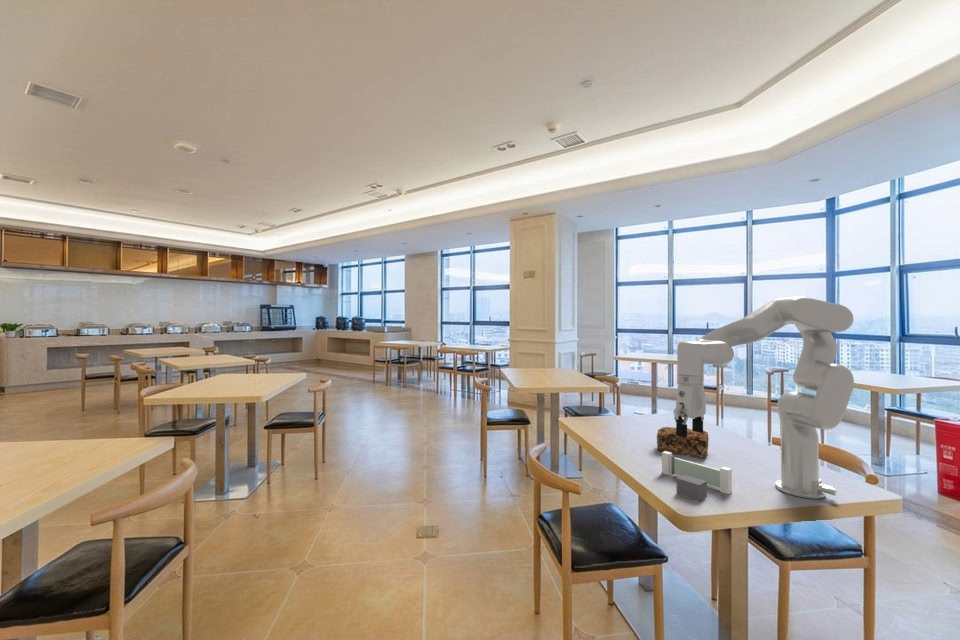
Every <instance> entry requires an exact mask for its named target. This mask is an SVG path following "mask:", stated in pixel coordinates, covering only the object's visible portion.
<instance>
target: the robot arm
mask: <svg viewBox="0 0 960 640" xmlns="http://www.w3.org/2000/svg"><path fill="white" fill-rule="evenodd" d="M853 323H854V315H853V312H852V310H850V309H849V308H848V307H847V306H845V305H843V304H840V303H834V302H829V301H825V300H821V299H817V298H812V297H807V296H791V297H779V298H774V299H772V300H770V301H769V302H767V303H765V304H764V305H762V306H760V307H758V308H757V309H756V310H754V311H752V312H751V313H748V314H747V315H745V316H744V317H742V318H740V319H738V320H736V321H732V322H730V323H728V324H726V325H723V326H721V327H718V328H716V329H714V330H712V331H710V332H708V333H706V334H705V335H703V336H701V337H700V338H698V339H696V340H695V341H690V340H688V341H687V340H686V341H685V340H683V341H679V342H678V343H677V347H676V349H677V351H676V353H677V355H676V356H677V357H676V359H677V360H676V361H677V362H676V366H677V367H676V375H677V376H676V383H677V388H676V400H675V408H674V409H673V412H672V413H673V416H674V417H673V419H674V420H675V424H676V425H675V426H676V427H675V428H676V435H677V436H681V437H685V438H686V437H687V428H688V424H687V422H688V419H692V421H691V423H692V424H691V427H692V428H691V429H692V430H693V431H696V432H700V433H702V432H703V431H704V420H705V415H706V411H707V409H706V394H705V393H706V392H705V387H704V383H705V382H704V381H705V380H704V379H705V377H704V373H705V371H704V369H705V368H704V367H705V365H706V364H707V365H713V366H725V365H727V364H730V362H731V361H732V360H733V358H734V357H735V351H734V349H733V347H736V346H742V345H749V344H752V343H753V344H754V343H757V342H761V341H763V339H765V338H767V337H768V336H771V334H773V333H775V332H776V331H779V329H782V328H783V327H785V326H787V325H795V327H796V328H797V330H798V332H799V333H800V335H801V338H802V340H803V344H802V349H801V353H800V355H799V358H798V361H797V363H796V366H795V369H794V372H793V375H792V378H793V383H794V384H795V385H796V386H797V387H799V388H801V389H804V390H807V391H812V392H816V393H815V395H814V394H810V393H806V392H801V391H788V392H785V393H783V394H782V395H780V396H779V398H778V400H777V404H776V407H777V408H776V409H777V414H778V417H779V422H780V479H778V480H776V481H775V482H774V483H775V488H776V489H777V490H779V491H781V492H782V493H786V494H788V495H792V496H796V497H799V498H806V499H815V500H816V499H818V500H819V499H823V498H825V497H826V494H827V495H830V496H836V495H837V489H835V488H834V486H831V485H827V484H824V483H823V479H822V478H819V473H820V472H819V470H820V469H819V468H820V467H819V465H820V464H819V454H820V453H819V442H820V441H819V440H820V439H819V435H818V431H817V429H820V430H824V431H825V430H827V431H829V430H833V429H834V428H836V427H838V426H839V425H840V423H841V422H842V420H843V418H844V416H845V413H846V411H847V410H846V409H847V407H848V406H849V402H850V399H851V396H852V394H853V391H854V387H855V379H854V375H853V373H852V371H850V369H849V368H848V367H846V366H845V365H842V364H839V363H835V360H836V356H837V353H838V346H837V345H838V344H837V342H836V340H835V338H834V336H833V333H842V332H845V331H847V330H849V329H850V328H851V327H852V325H853Z"/></svg>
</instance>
